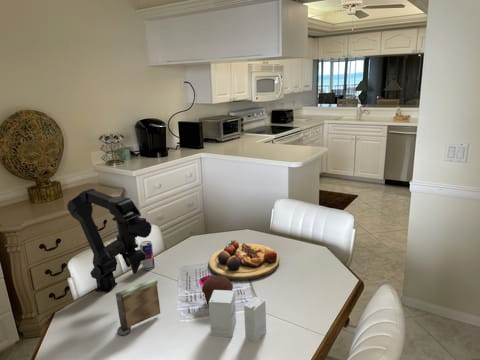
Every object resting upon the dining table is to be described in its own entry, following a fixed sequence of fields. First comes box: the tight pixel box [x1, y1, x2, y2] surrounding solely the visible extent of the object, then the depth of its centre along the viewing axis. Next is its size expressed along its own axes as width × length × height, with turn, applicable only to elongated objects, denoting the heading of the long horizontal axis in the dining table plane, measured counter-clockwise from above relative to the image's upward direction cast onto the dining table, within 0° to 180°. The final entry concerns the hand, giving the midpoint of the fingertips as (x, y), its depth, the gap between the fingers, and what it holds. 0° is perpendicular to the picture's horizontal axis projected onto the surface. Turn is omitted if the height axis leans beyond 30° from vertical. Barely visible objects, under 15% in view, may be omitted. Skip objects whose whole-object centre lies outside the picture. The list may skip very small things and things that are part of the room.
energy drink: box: [139, 240, 156, 271], centre depth 161 cm, size 5×5×12 cm
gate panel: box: [115, 278, 161, 330], centre depth 122 cm, size 14×2×13 cm, turn 127°
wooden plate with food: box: [208, 240, 280, 281], centre depth 162 cm, size 32×32×8 cm
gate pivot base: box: [116, 326, 132, 337], centre depth 120 cm, size 4×4×1 cm
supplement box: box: [208, 290, 237, 338], centre depth 118 cm, size 7×7×13 cm
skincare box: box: [243, 296, 267, 343], centre depth 114 cm, size 6×4×12 cm
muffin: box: [201, 275, 234, 308], centre depth 132 cm, size 12×11×10 cm
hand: (131, 270), depth 136 cm, fingers open, 6 cm apart
